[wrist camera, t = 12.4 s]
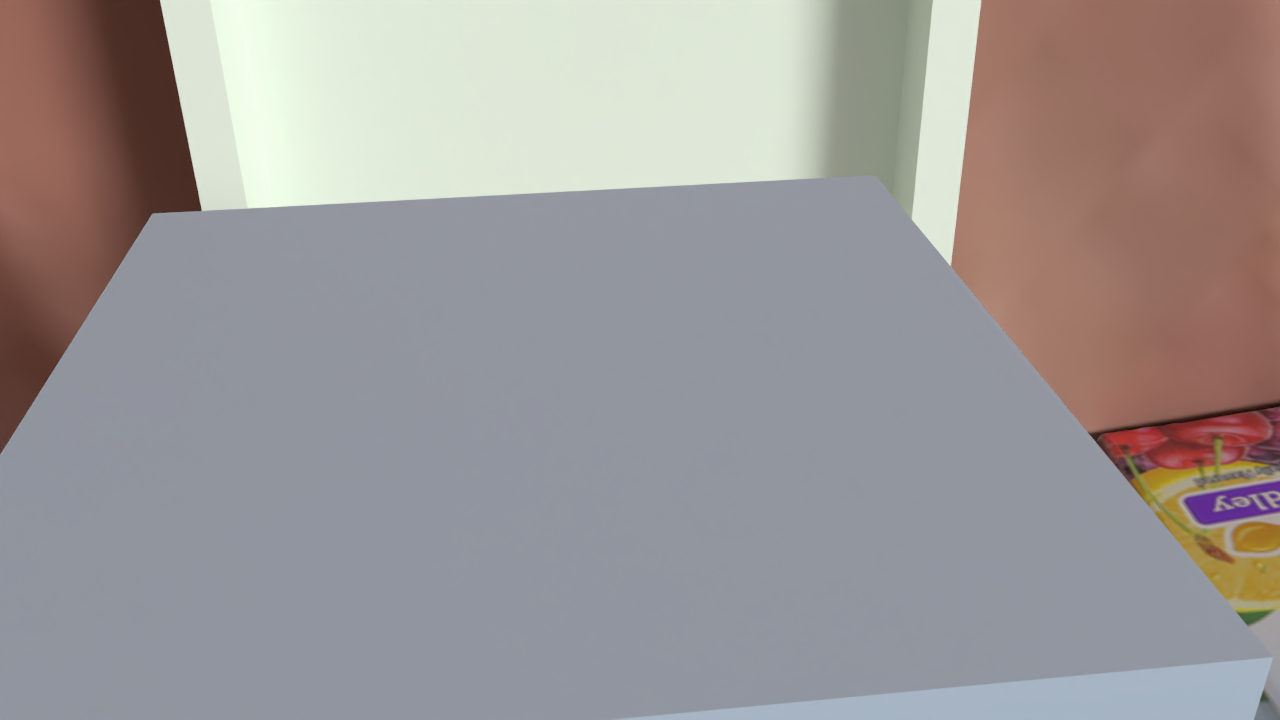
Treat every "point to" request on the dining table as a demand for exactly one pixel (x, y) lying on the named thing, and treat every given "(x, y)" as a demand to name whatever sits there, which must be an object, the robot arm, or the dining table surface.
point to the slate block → (580, 480)
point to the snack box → (1219, 510)
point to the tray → (571, 97)
